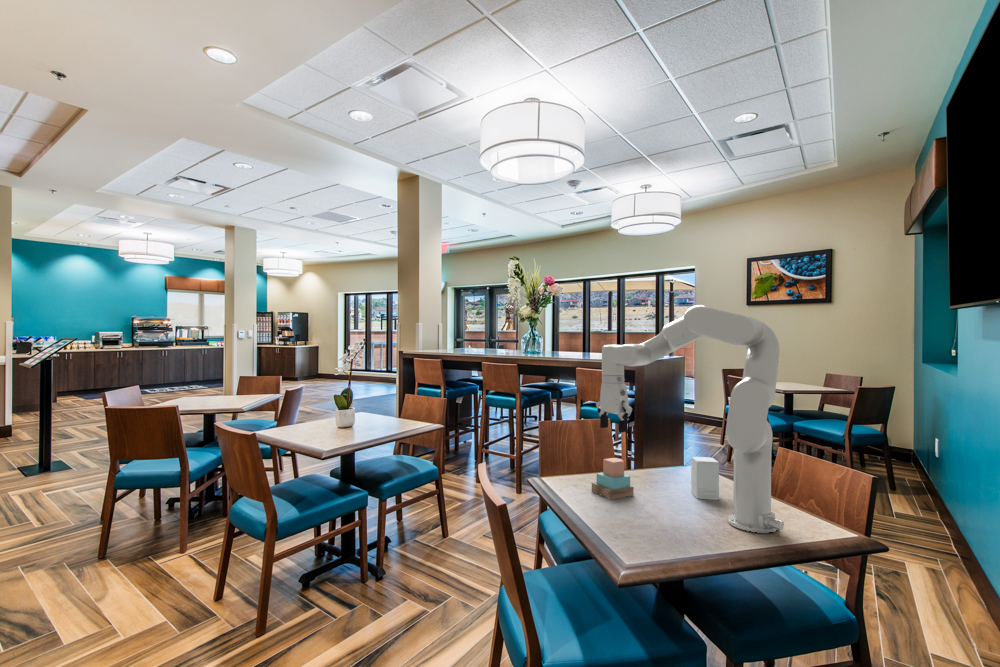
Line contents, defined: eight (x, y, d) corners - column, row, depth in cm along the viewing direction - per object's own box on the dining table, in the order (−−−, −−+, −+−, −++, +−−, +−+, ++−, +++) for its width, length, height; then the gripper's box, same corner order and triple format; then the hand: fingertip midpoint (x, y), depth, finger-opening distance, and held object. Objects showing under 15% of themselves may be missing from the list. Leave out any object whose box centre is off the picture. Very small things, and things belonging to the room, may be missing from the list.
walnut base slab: (633, 497, 160) (633, 486, 160) (610, 501, 155) (610, 490, 155) (613, 489, 169) (613, 479, 169) (591, 492, 164) (591, 482, 164)
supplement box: (719, 500, 156) (719, 462, 156) (696, 498, 157) (696, 461, 157) (713, 493, 163) (713, 457, 164) (690, 492, 164) (690, 456, 165)
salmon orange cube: (624, 475, 161) (624, 460, 161) (613, 477, 159) (613, 462, 159) (613, 471, 166) (614, 457, 166) (603, 473, 163) (603, 459, 163)
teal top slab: (630, 486, 160) (630, 476, 160) (613, 489, 156) (613, 479, 156) (613, 480, 167) (613, 470, 167) (596, 483, 163) (596, 473, 163)
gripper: (639, 381, 157) (639, 432, 156) (605, 378, 172) (605, 425, 172) (622, 382, 153) (622, 434, 153) (588, 379, 169) (589, 427, 168)
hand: (613, 429), depth 162 cm, fingers open, 9 cm apart
